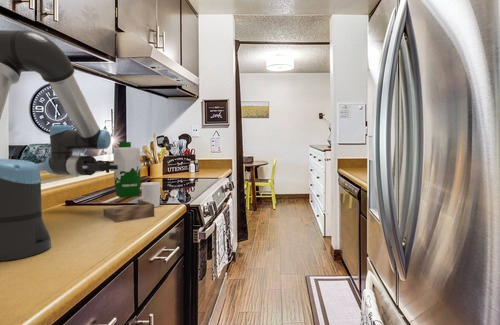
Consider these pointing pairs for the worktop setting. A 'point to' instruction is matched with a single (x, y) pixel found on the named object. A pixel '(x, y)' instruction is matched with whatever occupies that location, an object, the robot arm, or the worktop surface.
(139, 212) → the wooden tray
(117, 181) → the white two-tone container
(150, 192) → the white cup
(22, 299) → the worktop surface
